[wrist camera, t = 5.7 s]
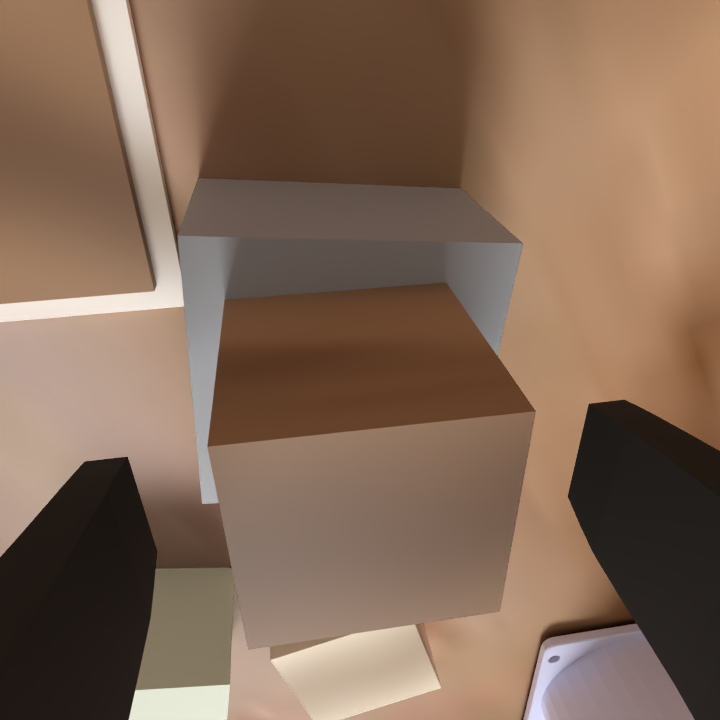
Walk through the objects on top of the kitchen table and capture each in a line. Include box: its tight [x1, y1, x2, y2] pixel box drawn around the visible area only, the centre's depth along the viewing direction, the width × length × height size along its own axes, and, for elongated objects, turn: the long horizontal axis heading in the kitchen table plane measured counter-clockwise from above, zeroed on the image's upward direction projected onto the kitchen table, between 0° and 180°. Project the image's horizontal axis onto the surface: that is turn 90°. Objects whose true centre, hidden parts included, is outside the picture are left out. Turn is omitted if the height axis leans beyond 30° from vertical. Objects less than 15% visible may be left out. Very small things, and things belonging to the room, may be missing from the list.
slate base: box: [178, 178, 523, 504], centre depth 13 cm, size 6×6×4 cm
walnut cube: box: [207, 283, 536, 650], centre depth 10 cm, size 4×4×4 cm
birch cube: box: [270, 623, 441, 720], centre depth 18 cm, size 4×4×4 cm
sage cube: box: [129, 568, 234, 720], centre depth 18 cm, size 4×4×4 cm
